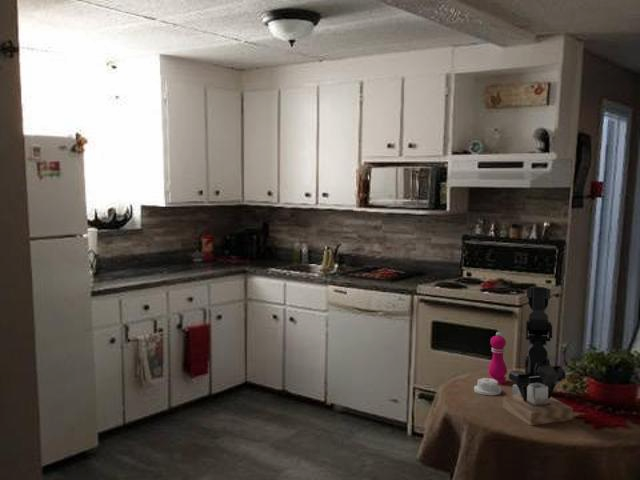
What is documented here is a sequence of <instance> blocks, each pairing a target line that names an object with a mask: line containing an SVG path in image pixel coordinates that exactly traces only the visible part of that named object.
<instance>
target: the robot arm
mask: <svg viewBox="0 0 640 480" xmlns="http://www.w3.org/2000/svg"><path fill="white" fill-rule="evenodd" d="M551 293H552V292H551V288H548V287H545V286H530V287H527V288H526V300H528V306H529V308H530V310H532V311H531V312H530V313H529V314H528V320H526V325H525V326H526V327H525V329H526V330H525V340H527V341H528V352H527V355H526V358H525V360H524V361H525V364H524V365H525V366H524V367H525V368H524V370H525V371H522V370H520V369H519V370H510V371H509V372H508V373H509V374H508V380H510V381H512V382H513V383H515V384H516V385H517V387H518V388H519V391H520V393H521V395H522V398H523V400H524V401H527V387H528V385H529V383H538V382H539V383H541V384H543V385H545V386H547V387H548V398H549V399H550V397H552V394H553V392H554V389H555V388H556V386H557V384H558V383H560V382H563V380H565V379H566V377H567V376H566V375H567V374H566V371H565V370H564V369H563V367H562V366H561V365H552V364H550V363H551V362H550V361H551V360H550V358H548V342H551V339H553V325H552V323H551V321H549V315H548V314H547V313H546V312H545V311H546V308H547V307H548V306H549V301H551Z"/></svg>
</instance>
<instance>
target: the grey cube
mask: <svg viewBox="0 0 640 480" xmlns="http://www.w3.org/2000/svg"><path fill="white" fill-rule="evenodd" d="M511 390H512V392H511V393H512V396H518V395H521V393H520V391H519V388H518V387H517V385H516V383H515V384H512V389H511Z"/></svg>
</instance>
